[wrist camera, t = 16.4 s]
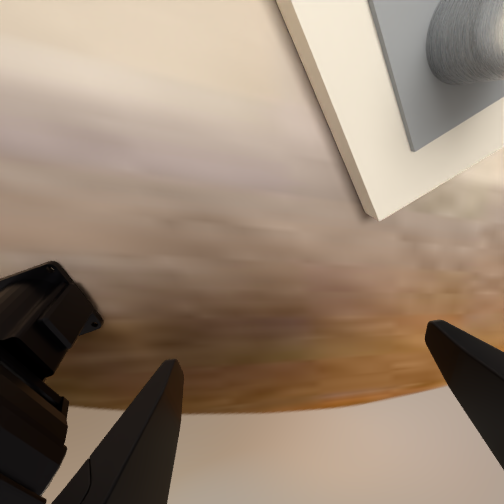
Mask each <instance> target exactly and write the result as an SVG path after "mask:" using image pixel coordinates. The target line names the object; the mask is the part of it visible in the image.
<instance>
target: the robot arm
mask: <svg viewBox="0 0 504 504" xmlns="http://www.w3.org/2000/svg"><path fill="white" fill-rule="evenodd" d="M49 267H52V268H53V269H54V270H51V269H50V268H49ZM94 322H96V323H98V324H96V323H94ZM102 324H103V320H102V318H101V317H100V316H99V315H98V313H97V312H96V311H95V310H94V308H93V306H92V305H91V304H90V302H89V301H88V300H87V299H86V297H85V296H84V295H83V294H82V292H81V291H80V290H79V288H78V287H77V286H76V285H75V284H74V283H73V282H72V280H71V279H70V278H69V276H68V275H67V274H66V273H65V271H64V270H63V269H62V268H61V266H60V265H59V264H58V263H56V262H53V261H50V262H46V263H44V264H41V265H38V266H35V267H32V268H30V269H27V270H24V271H21V272H18V273H16V274H13V275H10V276H7V277H5V278H2V279H0V504H46V499H45V498H43V497H41V496H42V494H43V493H44V491H45V490H46V489H47V487H48V486H49V484H50V482H51V481H52V479H53V477H54V476H55V474H56V472H57V471H58V469H59V468H60V465H61V463H62V461H63V459H64V457H65V455H66V451H67V447H66V446H65V445H64V443H65V438H66V433H67V428H68V426H67V421H66V420H67V412H68V406H69V401H68V400H67V399H66V398H64V397H63V396H62V397H60V396H59V395H58V394H57V393H56V392H55V391H53V390H52V389H51V388H50V387H49V386H47V385H46V384H45V383H44V381H45V379H46V378H47V377H49V376H52V375H53V374H54V373H55V371H56V369H57V368H58V366H59V364H60V362H61V361H62V359H63V357H64V356H65V354H66V352H67V351H68V349H70V348H71V347H72V346H73V344H74V342H75V341H76V339H77V337H78V336H80V335H82V334H85V333H88V332H91V331H94V330H97V329H99V328H100V327H101V326H102ZM425 342H426V345H427V347H428V349H429V350H430V352H431V354H432V356H433V358H434V360H435V362H436V364H437V366H438V368H439V369H440V371H441V373H442V375H443V377H444V379H445V381H446V382H447V384H448V386H449V388H450V389H451V391H452V392H453V394H454V395H455V397H456V398H457V400H458V401H459V403H460V404H461V406H462V407H463V409H464V411H465V412H466V414H467V415H468V417H469V418H470V420H471V421H472V423H473V424H474V426H475V427H476V429H477V430H478V432H479V433H480V435H481V436H482V438H483V439H484V441H485V442H486V444H487V445H488V447H489V448H490V450H491V451H492V453H493V454H494V456H495V457H496V459H497V460H498V462H499V463H500V465H501V466H502V468H503V469H504V352H502V351H501V350H499V349H497V348H495V347H493V346H491V345H489V344H487V343H485V342H484V341H482V340H480V339H478V338H476V337H474V336H472V335H470V334H468V333H466V332H465V331H463V330H461V329H459V328H457V327H455V326H453V325H451V324H449V323H448V322H446V321H443V320H434V321H429V323H428V325H427V329H426V334H425ZM183 384H184V375H183V371H182V369H181V367H180V365H179V362H178V360H177V359H168V360H165V361H164V362H163V363H162V364H161V366H160V367H159V368H158V370H157V371H156V372H155V373H154V375H153V376H152V377H151V378H150V380H149V381H148V382H147V384H146V385H145V386H144V387H143V389H142V390H141V391H140V393H139V394H138V395H137V396H136V398H135V399H134V400H133V402H132V403H131V404H130V405H129V407H128V408H127V409H126V411H125V412H124V413H123V414H122V416H121V417H120V418H119V420H118V421H117V422H116V423H115V425H114V426H113V427H112V428H111V430H110V431H109V432H108V434H107V435H106V436H105V437H104V439H103V440H102V441H101V443H100V444H99V446H98V447H97V448H96V449H95V450H94V452H93V453H92V454H91V455H90V459H87V460H86V462H85V463H84V464H83V466H82V467H81V468H80V469H79V471H78V472H77V473H76V474H75V476H74V477H73V478H72V479H71V481H70V482H69V483H68V484H67V486H66V487H65V488H64V489H63V491H62V492H61V493H60V494H59V495H58V496H57V498H56V499H55V500H54V501H53V502H52V504H167V500H168V494H169V488H170V482H171V477H172V471H173V465H174V460H175V454H176V448H177V442H178V437H179V431H180V424H181V413H182V398H183Z"/></svg>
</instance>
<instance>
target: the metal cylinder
mask: <svg viewBox="0 0 504 504" xmlns="http://www.w3.org/2000/svg"><path fill="white" fill-rule="evenodd" d="M426 54H427V60H428V64H429V67H430V69H431V71H432V72H433V74H434V75H435V76H436V78H437V79H439V80H440V81H442V82H443V83H446V84H449V85H462V84H470V83H479V82H487V81H496V80H504V0H440V2H439V4H438V5H437V7H436V9H435V11H434V14H433V16H432V19H431V21H430V25H429V28H428V33H427V40H426Z"/></svg>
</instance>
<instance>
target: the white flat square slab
mask: <svg viewBox="0 0 504 504" xmlns="http://www.w3.org/2000/svg"><path fill="white" fill-rule="evenodd" d="M276 2H277V4H278V7H279V9H280V12H281V14H282V16H283V19H284V21H285V23H286V26H287V28H288V31H289V33H290V35H291V38H292V40H293V42H294V45H295V47H296V49H297V52H298V54H299V57H300V59H301V61H302V64H303V66H304V68H305V71H306V73H307V76H308V78H309V80H310V83H311V85H312V87H313V90H314V92H315V95H316V97H317V99H318V102H319V104H320V106H321V109H322V111H323V114H324V116H325V118H326V121H327V123H328V125H329V128H330V130H331V133H332V135H333V137H334V140H335V142H336V144H337V147H338V149H339V151H340V154H341V156H342V159H343V161H344V163H345V166H346V168H347V170H348V173H349V175H350V178H351V180H352V182H353V185H354V187H355V189H356V192H357V194H358V197H359V199H360V201H361V204H362V206H363V208H364V211H365V213H367V214H368V215H370V216H371V217H373V218H375V219H376V220H378V221H381V220H383V219H384V218H386V217H388V216H389V215H391V214H393V213H394V212H396V211H398V210H399V209H401V208H403V207H404V206H406V205H408V204H409V203H411V202H413V201H415V200H416V199H418V198H420V197H421V196H423V195H425V194H426V193H428V192H430V191H431V190H433V189H435V188H436V187H438V186H440V185H441V184H443V183H445V182H446V181H448V180H450V179H451V178H453V177H455V176H456V175H458V174H460V173H461V172H463V171H465V170H466V169H468V168H470V167H471V166H473V165H475V164H476V163H478V162H480V161H481V160H483V159H485V158H486V157H488V156H490V155H491V154H493V153H495V152H496V151H498V150H500V149H501V148H503V147H504V80H496V81H487V82H479V83H470V84H462V85H449V84H446V83H443V82H442V81H440V80H439V79H437V78H436V76H435V75H434V74H433V72H432V71H431V69H430V67H429V64H428V60H427V54H426V40H427V33H428V28H429V25H430V21H431V19H432V16H433V14H434V11H435V9H436V7H437V5H438V4H439V2H440V0H276Z"/></svg>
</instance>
